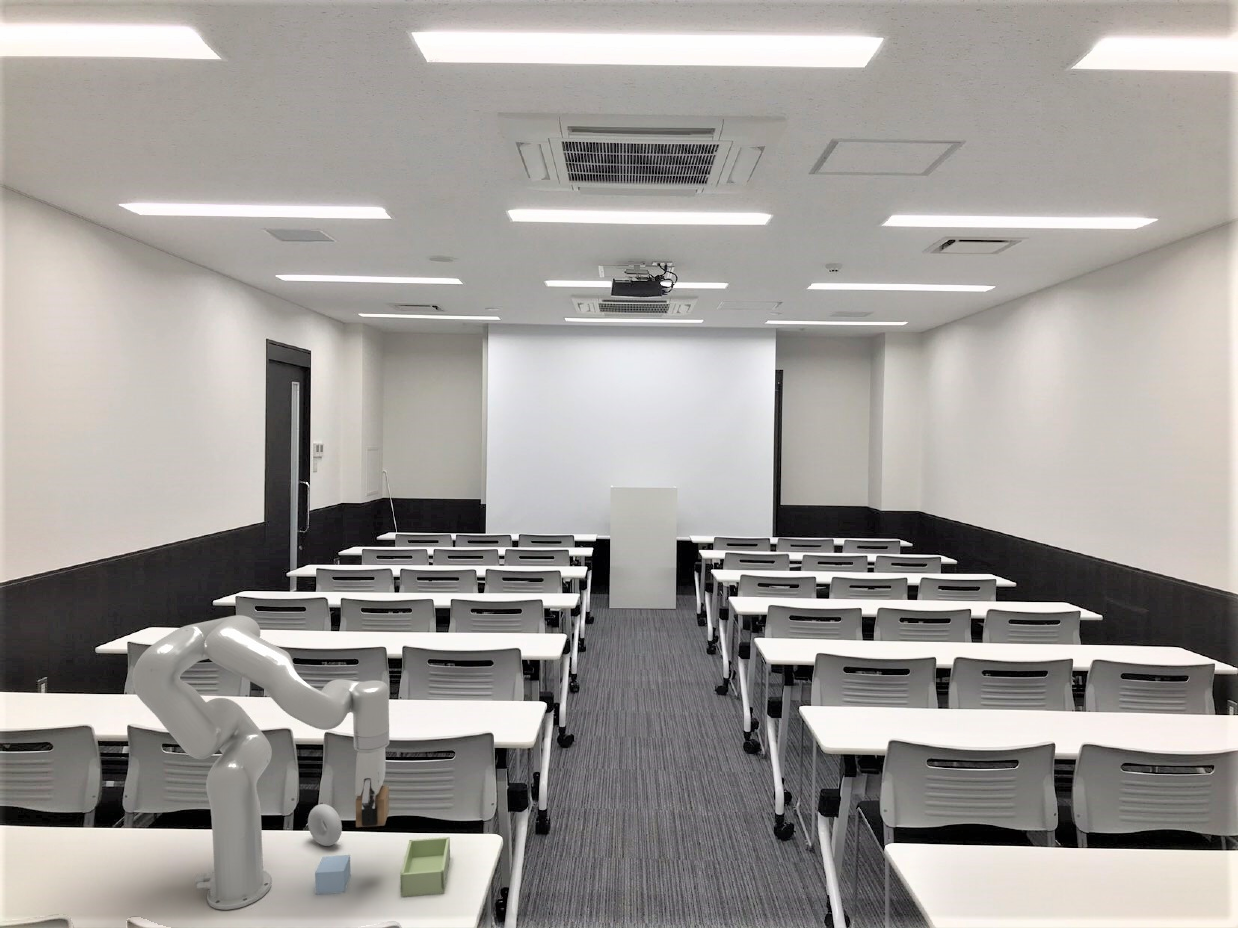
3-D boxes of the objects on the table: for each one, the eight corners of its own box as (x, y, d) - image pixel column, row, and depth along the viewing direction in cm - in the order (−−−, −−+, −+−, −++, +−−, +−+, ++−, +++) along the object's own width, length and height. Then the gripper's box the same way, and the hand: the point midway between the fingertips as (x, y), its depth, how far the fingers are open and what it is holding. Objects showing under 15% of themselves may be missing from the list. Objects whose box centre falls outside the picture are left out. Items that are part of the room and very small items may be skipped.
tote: (400, 896, 162) (400, 874, 161) (410, 860, 175) (409, 839, 174) (444, 892, 163) (443, 871, 162) (450, 857, 176) (449, 836, 176)
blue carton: (315, 894, 163) (315, 872, 162) (323, 877, 169) (322, 856, 168) (344, 892, 163) (343, 870, 163) (350, 875, 169) (350, 854, 169)
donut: (305, 842, 182) (303, 803, 181) (317, 835, 185) (315, 796, 184) (334, 853, 177) (332, 813, 177) (345, 846, 181) (344, 806, 180)
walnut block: (356, 826, 163) (355, 800, 163) (361, 812, 169) (361, 786, 168) (384, 825, 164) (383, 798, 163) (389, 810, 170) (388, 785, 169)
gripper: (362, 722, 173) (363, 797, 174) (344, 757, 156) (346, 839, 157) (395, 721, 174) (396, 795, 175) (381, 755, 157) (383, 837, 158)
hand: (372, 815), depth 166 cm, fingers closed on walnut block, 6 cm apart
